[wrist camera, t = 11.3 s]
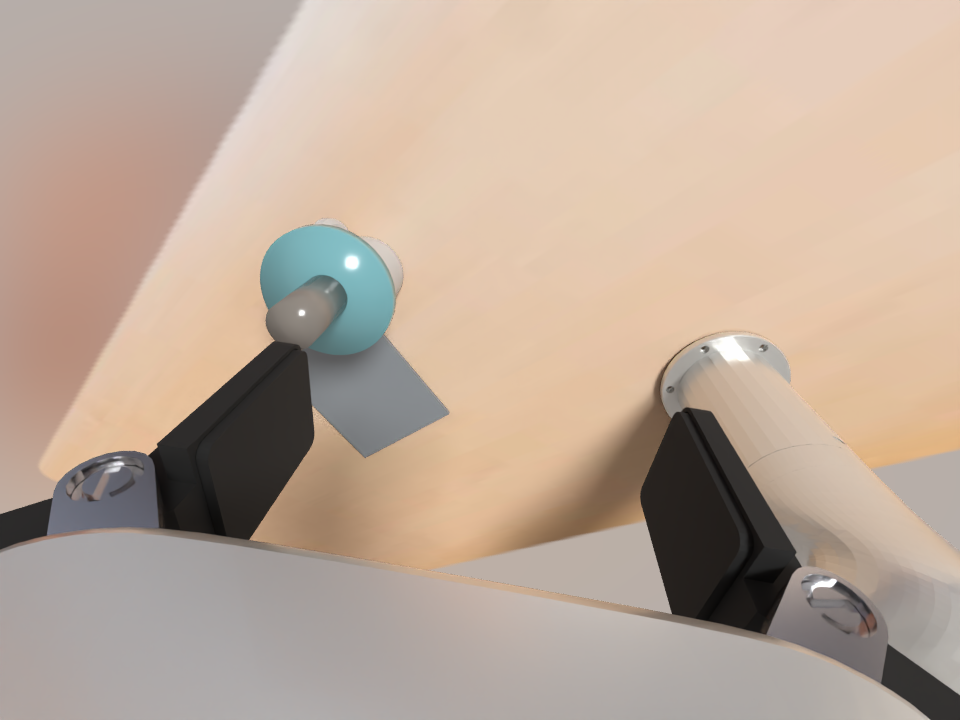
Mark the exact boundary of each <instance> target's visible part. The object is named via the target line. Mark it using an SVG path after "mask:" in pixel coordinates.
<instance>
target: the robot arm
mask: <svg viewBox="0 0 960 720" xmlns="http://www.w3.org/2000/svg"><path fill="white" fill-rule="evenodd" d="M790 382H791V369H790V366H789V362H788V360H787V358H786V357H785V355H784V353H783V352H782V351H781V350H780V349H779V348H778V347H777V346H776V345H775V344H773V343H772V342H771V341H769V340H768V339H766V338H764V337H762V336H759V335H757V334H753V333H748V332H738V331H731V332H722V333H717V334H714V335H710V336H707V337H704V338H702V339H700V340H697V341H695V342H694V343H692V344H691V345H689V346H687V347H686V348H684V349H683V350H682V351H681V352H680V353H679V354H677V355H676V356H675V358H674V359H673V360H672V361H671V362H670V364H669V365H668V367H667V369H666V370H665V372H664V374H663V378H662V381H661V387H660V394H661V400H662V403H663V405H664V408H665V410H666V412H667V413H668V415H669V417H670V418H671V422H670V424H669V426H668V429H667V431H666V433H665V435H664V438H663V440H662V442H661V445H660V447H659V449H658V452H657V454H656V456H655V459H654V461H653V463H652V466H651V468H650V470H649V472H648V475H647V477H646V479H645V482H644V484H643V486H642V489H641V495H640V499H641V505H642V508H643V512H644V516H645V519H646V523H647V526H648V530H649V533H650V537H651V541H652V544H653V548H654V551H655V555H656V558H657V562H658V566H659V569H660V573H661V576H662V580H663V583H664V587H665V591H666V594H667V597H668V601H669V605H670V608H671V612H672V614H668V613H663V612H658V611H653V610H648V609H642V608H637V607H631V606H626V605H620V604H615V603H609V602H604V601H598V600H593V599H587V598H582V597H576V596H571V595H565V594H559V593H554V592H549V591H543V590H538V589H532V588H526V587H521V586H515V585H509V584H503V583H498V582H492V581H487V580H481V579H475V578H470V577H464V576H458V575H452V574H446V573H441V572H435V571H430V570H424V569H418V568H412V567H407V566H401V565H395V564H389V563H383V562H378V561H372V560H366V559H360V558H354V557H348V556H342V555H336V554H330V553H324V552H318V551H313V550H307V549H301V548H295V547H289V546H283V545H277V544H271V543H264V542H258V541H251V540H249V539H250V538H251V536H252V535H253V533H254V532H255V530H256V529H257V527H258V526H259V524H260V523H261V521H262V520H263V518H264V517H265V515H266V514H267V512H268V511H269V509H270V508H271V506H272V505H273V503H274V502H275V500H276V499H277V497H278V496H279V494H280V493H281V491H282V490H283V488H284V487H285V485H286V484H287V482H288V481H289V479H290V478H291V476H292V475H293V473H294V472H295V470H296V469H297V467H298V466H299V464H300V463H301V461H302V460H303V458H304V457H305V455H306V454H307V452H308V451H309V449H310V447H311V446H312V443H313V440H314V424H313V412H312V401H311V390H310V378H309V367H308V356H307V353H306V352H305V351H301V348H300V346H299V345H298V344H291V343H285V342H279V341H274V342H273V343H271V344H270V345H269V346H268V347H267V348H266V349H264V350H263V351H262V352H261V353H260V354H259V355H258V356H256V357H255V358H254V359H253V360H252V361H251V362H250V363H248V364H247V365H246V366H245V367H244V368H243V369H242V370H240V371H239V372H238V373H237V374H236V375H235V376H234V377H232V378H231V379H230V380H229V381H228V382H227V383H226V384H224V385H223V386H222V387H221V388H220V389H219V390H218V391H217V392H215V393H214V394H213V395H212V396H211V397H210V398H209V399H207V400H206V401H205V402H204V403H203V404H202V405H201V406H199V407H198V408H197V409H196V410H195V411H194V412H193V413H191V414H190V415H189V416H188V417H187V418H186V419H185V420H183V421H182V422H181V423H180V424H179V425H178V426H177V427H176V428H174V429H173V430H172V431H171V432H170V433H169V434H168V435H166V436H165V437H164V438H163V439H162V440H161V441H160V442H158V443H157V446H158V447H157V448H156V449H155V450H154V451H153V452H152V453H151V454H150V455H148V456H147V455H146V454H144V453H140V452H136V451H119V452H113V453H107V454H104V455H101V456H98V457H95V458H92V459H90V460H88V461H86V462H83V463H81V464H79V465H78V466H76V467H75V468H73V469H72V470H70V471H69V472H68V473H66V474H65V475H64V476H63V477H62V479H61V480H60V481H59V482H58V483H57V485H56V488H55V490H54V494H53V498H51V499H48V500H44V501H42V502H38V503H35V504H32V505H28V506H25V507H22V508H19V509H15V510H13V511H9V512H6V513H3V514H0V720H960V551H959V550H958V549H956V548H955V547H954V546H953V545H952V544H950V543H949V542H948V541H947V540H945V539H944V538H943V537H942V536H941V535H939V534H938V533H937V532H936V531H935V530H934V529H933V528H931V527H930V526H929V525H928V524H927V523H926V522H925V521H923V520H922V519H921V518H920V517H919V516H917V515H916V514H915V513H914V512H913V511H912V510H911V509H910V508H909V507H908V506H907V505H906V504H905V503H904V502H903V501H902V500H901V499H900V498H899V497H898V496H897V495H896V494H895V493H894V492H893V491H891V489H890V488H889V487H887V486H886V485H885V484H884V483H883V482H882V481H881V480H880V479H879V478H878V477H877V476H876V475H875V474H874V472H873V471H872V470H871V469H870V468H869V467H868V466H867V465H866V464H865V463H864V462H863V461H862V460H861V459H860V458H859V457H858V456H857V455H856V454H855V453H854V451H853V450H852V449H851V448H850V447H849V446H848V445H847V444H846V443H845V442H844V441H843V440H842V439H841V438H840V437H839V436H838V435H837V434H836V433H835V432H834V430H833V429H832V428H831V427H830V426H829V425H828V424H827V423H826V422H825V421H824V420H823V419H822V418H821V417H820V416H819V415H818V414H817V413H816V412H815V411H814V409H813V408H812V407H811V406H810V405H809V404H808V403H807V402H806V401H805V400H804V399H803V398H802V397H801V396H800V395H799V394H798V393H797V392H796V391H795V390H794V388H793V387H792V386H791V385H790Z"/></svg>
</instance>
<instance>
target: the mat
mask: <svg viewBox="0 0 960 720" xmlns="http://www.w3.org/2000/svg"><path fill="white" fill-rule="evenodd" d="M301 351H305V352H306V353H307V356H308V367H309V378H310V390H311V401H312V405H313V406H314V407H315V408H316V409H317V410H318V411H319V412H320V413H321V414H322V415H323V416H324V417H325V418H326V419H327V420H328V421H329V422H330V423H331V424H332V425H333V426H334V427H335V428H336V429H337V430H338V431H339V432H340V433H341V434H342V435H343V436H344V437H345V438H346V439H347V440H348V441H349V442H350V443H351V444H352V445H353V446H354V447H355V448H356V449H357V450H358V451H359V452H360V453H361V454H362V455H363V456H364V457H365V458H366V457H368V456H370V455H371V454H373V453H375V452H377V451H379V450H381V449H383V448H385V447H387V446H389V445H391V444H393V443H395V442H396V441H398V440H400V439H402V438H404V437H406V436H408V435H410V434H412V433H414V432H416V431H418V430H419V429H421V428H423V427H425V426H427V425H429V424H431V423H433V422H435V421H437V420H439V419H441V418H442V417H444V416H446V415H448V414H449V411H448V410H447V409H446V407H445V406H444V405H443V404H442V403H441V401H440V400H439V399H438V398H437V397H436V396H435V394H434V393H433V392H432V391H431V390H430V388H429V387H428V386H427V385H426V384H425V383H424V381H423V380H422V379H421V378H420V377H419V375H418V374H417V373H416V372H415V371H414V370H413V368H412V367H411V366H410V365H409V364H408V362H407V361H406V360H405V359H404V358H403V357H402V355H401V354H400V353H399V352H398V351H397V349H396V348H395V347H394V346H393V345H392V344H391V342H390V341H389V340H388V339H387V338H386V336H385V335H384V334H383V335H382V337H381V338H380V339H379V340H378V341H377V342H376V343H375V344H373V345H372V346H371V347H369V348H367V349H365V350H363V351H361V352H358V353H354V354H349V355H332V354H326V353H322V352H318V351H315V350H313V349H310V348H305V349H302V350H301Z"/></svg>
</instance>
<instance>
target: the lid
mask: <svg viewBox="0 0 960 720" xmlns="http://www.w3.org/2000/svg"><path fill="white" fill-rule="evenodd" d="M260 284H261V291H262V294H263V298H264V301H265V303H266V305H267V308H268V310H269V311H268V312H267V315H266V326H267V329H268V331H269V333H270V335H271V336H272V337H273V339H274V340H275V341H279V342H285V343H291V344H298V345H299V346H300V348H301V350H302V349H305V348H310V349H313V350H315V351H318V352H322V353H326V354H332V355H349V354H354V353H358V352H361V351H363V350H365V349H367V348H369V347H371V346H372V345H373V344H375V343H376V342H377V341H378V340H379V339H380V338H381V337H382V335H383V334H384V332H385V331H386V329H387V328H388V326H389V325H390V323H391V321H392V319H393V315H394V312H395V306H396V292H395V286H394V282H393V279H392V276H391V274H390V271H389V269H388V267H387V266H386V264H385V262H384V261H383V259H382V258H381V256H380V255H379V254H378V253H377V252H376V251H375V249H374V248H373V247H371V246H370V245H369V244H368V243H367V242H366V241H364V240H363V239H362V238H360V237H359V236H357V235H355V234H354V233H352V232H350V231H348V230H345V229H343V228H340V227H336V226H332V225H325V224H312V225H306V226H302V227H299V228H297V229H294V230H292V231H290V232H288V233H286V234H284V235H283V236H281V237H280V238H278V239H277V240H276V241H275V242H274V243H273V244H272V245H271V246H270V248H269V249H268V251H267V252H266V254H265V256H264V259H263V262H262V265H261V272H260Z"/></svg>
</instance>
